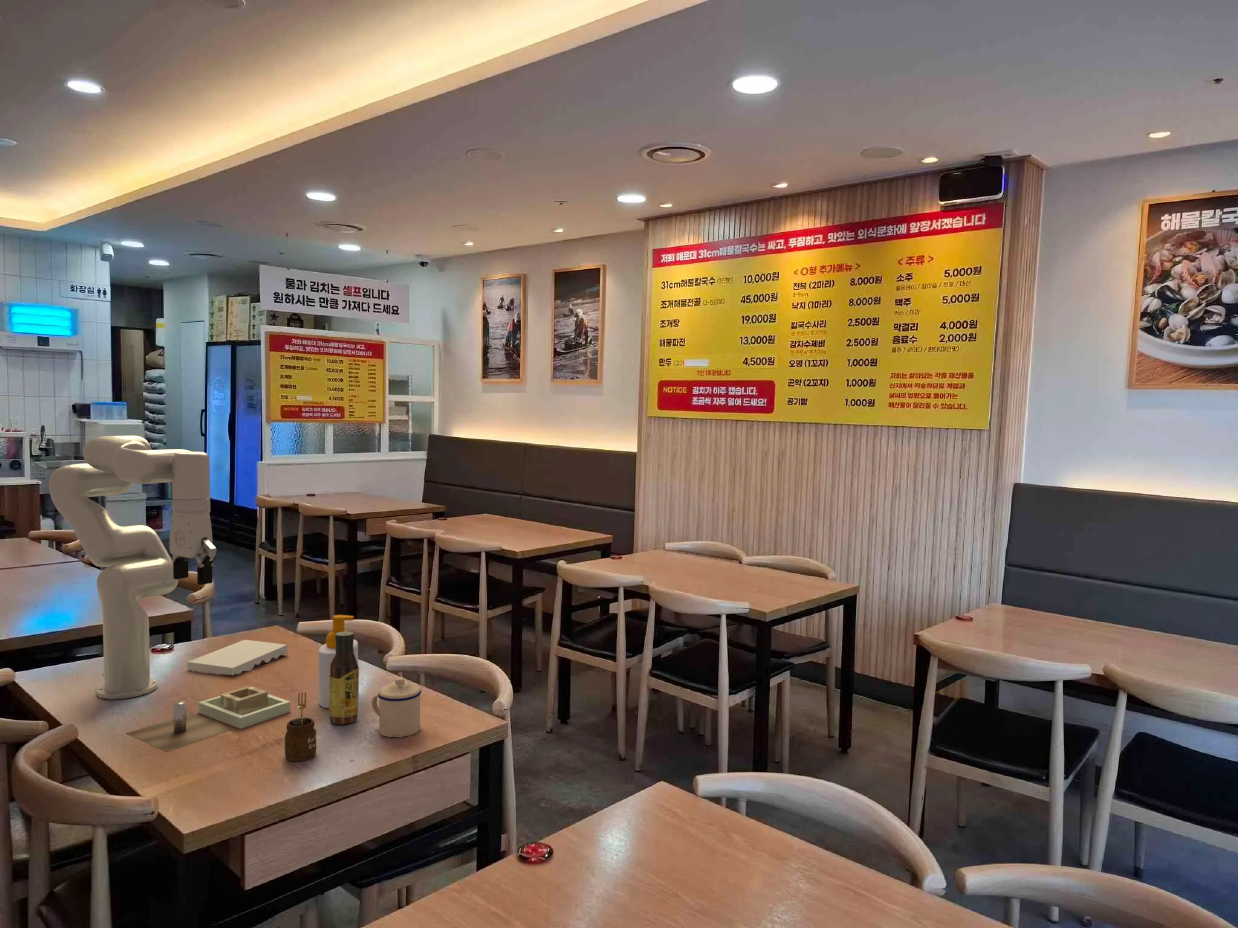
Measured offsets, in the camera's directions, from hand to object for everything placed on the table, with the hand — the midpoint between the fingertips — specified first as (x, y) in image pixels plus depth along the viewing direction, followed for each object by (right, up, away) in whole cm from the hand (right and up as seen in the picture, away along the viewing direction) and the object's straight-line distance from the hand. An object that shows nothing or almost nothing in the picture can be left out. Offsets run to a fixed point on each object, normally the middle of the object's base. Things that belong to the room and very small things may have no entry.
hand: (192, 581), depth 183 cm
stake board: (+4, -31, -13) cm, 34 cm away
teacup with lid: (+48, -32, -6) cm, 58 cm away
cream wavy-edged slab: (-7, -29, +37) cm, 48 cm away
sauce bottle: (+35, -31, -2) cm, 47 cm away
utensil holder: (+33, -33, -20) cm, 50 cm away
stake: (+4, -30, -13) cm, 33 cm away
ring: (+13, -30, -2) cm, 32 cm away
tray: (+13, -31, -2) cm, 33 cm away
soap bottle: (+29, -30, +11) cm, 44 cm away
